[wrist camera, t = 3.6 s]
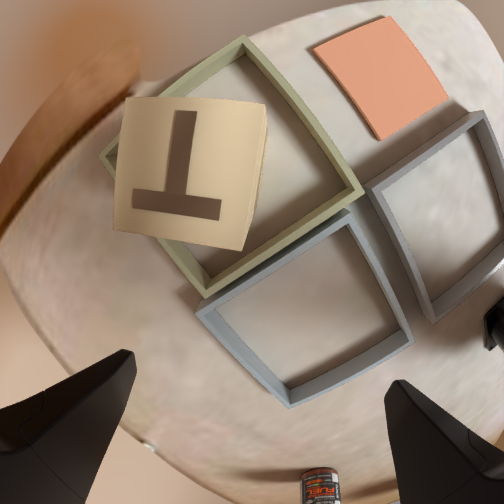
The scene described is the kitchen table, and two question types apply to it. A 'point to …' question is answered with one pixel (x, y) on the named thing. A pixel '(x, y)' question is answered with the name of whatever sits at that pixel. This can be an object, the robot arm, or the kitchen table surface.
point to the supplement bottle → (320, 487)
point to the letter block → (190, 169)
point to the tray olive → (354, 188)
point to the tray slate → (271, 264)
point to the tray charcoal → (450, 299)
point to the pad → (382, 75)
